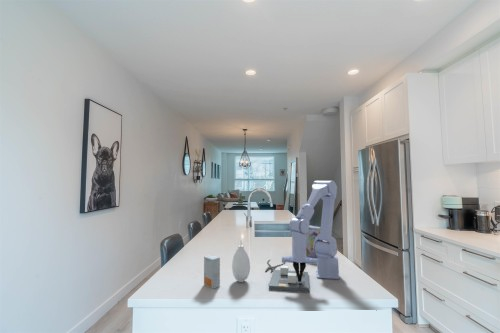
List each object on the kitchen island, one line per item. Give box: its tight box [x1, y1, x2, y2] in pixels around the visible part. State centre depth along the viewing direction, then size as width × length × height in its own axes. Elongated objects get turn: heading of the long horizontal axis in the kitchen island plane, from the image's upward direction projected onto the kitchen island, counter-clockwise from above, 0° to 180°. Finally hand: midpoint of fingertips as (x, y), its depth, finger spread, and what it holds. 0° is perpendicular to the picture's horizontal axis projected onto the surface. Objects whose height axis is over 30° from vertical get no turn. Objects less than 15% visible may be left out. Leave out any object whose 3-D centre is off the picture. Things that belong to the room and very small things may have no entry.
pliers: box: [264, 259, 286, 274], centre depth 133 cm, size 10×1×20 cm
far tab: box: [279, 265, 290, 275], centre depth 117 cm, size 4×3×3 cm
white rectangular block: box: [288, 273, 296, 283], centre depth 108 cm, size 4×3×3 cm
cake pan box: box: [306, 224, 324, 259], centre depth 152 cm, size 19×5×18 cm, turn 37°
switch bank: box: [268, 269, 310, 293], centre depth 112 cm, size 16×19×2 cm
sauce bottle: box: [231, 241, 251, 283], centre depth 113 cm, size 8×8×18 cm
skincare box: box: [203, 254, 221, 290], centre depth 108 cm, size 6×4×12 cm
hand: (299, 280), depth 107 cm, fingers closed
